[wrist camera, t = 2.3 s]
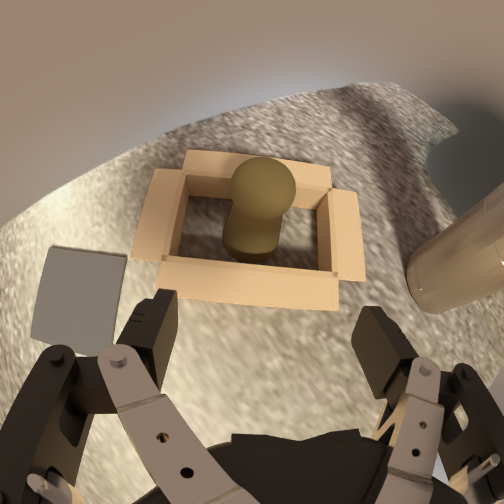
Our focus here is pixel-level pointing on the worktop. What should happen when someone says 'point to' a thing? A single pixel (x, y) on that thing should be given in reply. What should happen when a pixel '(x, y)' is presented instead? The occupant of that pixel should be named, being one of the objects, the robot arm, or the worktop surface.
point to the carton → (240, 274)
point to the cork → (257, 208)
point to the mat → (78, 300)
